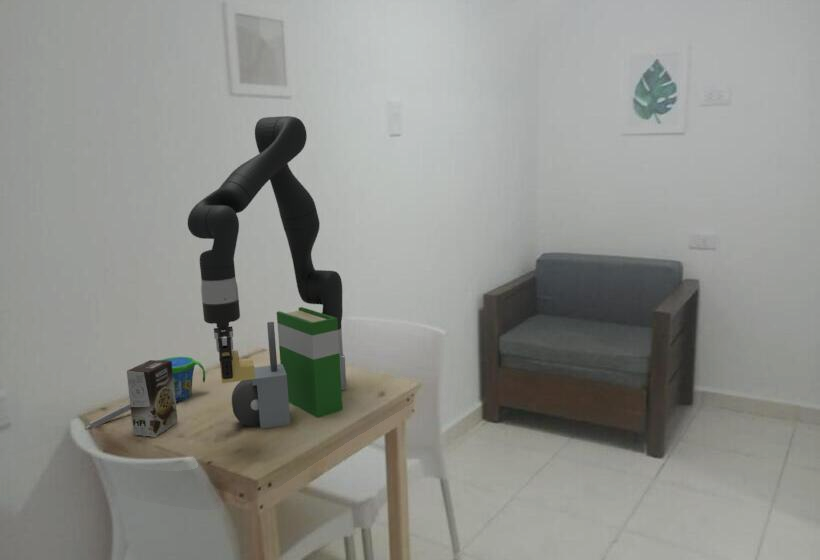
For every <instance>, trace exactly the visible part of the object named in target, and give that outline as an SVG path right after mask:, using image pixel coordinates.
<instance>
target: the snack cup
mask: <svg viewBox="0 0 820 560" xmlns="http://www.w3.org/2000/svg"><path fill="white" fill-rule="evenodd" d="M162 360H166V361H172V371H173V380H174V390H175V400H176V402H178V401H185V400H187V399H188V398H190V397H191V396H192V392H193V376H194V370H195V366H196V365H198V366H199V367H200V368H201V370H202V383H205V382H206V370H205V368H204V366H203V365H202V363H201V362H200V361H198V360H195V359H194V358H193V357H189V356H174V357H167V358H164V359H162Z"/></svg>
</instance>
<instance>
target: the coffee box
mask: <svg viewBox="0 0 820 560" xmlns="http://www.w3.org/2000/svg"><path fill="white" fill-rule="evenodd" d="M126 377H127V378H126V379H127V386H128V387H127V388H128V394H129V395H128V396H129V403H130V406H131V410H130V413H131V415H130V417H131V423H132V434H136V435H135V436H137V435H143V436H142V437H146V436H151V437H150V438H156V437H155V436H157V435H158V436H159V434H160V433H161V434H163V433H164V432H166V431H168V430H169V429H171V428H172V427H174V426H175V425H177V424H178V423H179V421H178V413H177V412H178V410H177V403H176V402H177V401H176V400H175V390H174V380H173V371H172V361H166V360H163V359H160V360H159V359H157V360H155V359H154V360H152V359H150V360H148V361H145V362H143V363H141V364H139V365H136V366H134V367H133V368H129V369H128V370H126ZM173 425H174V426H173ZM170 427H171V428H170ZM168 428H169V429H168ZM165 430H166V431H165ZM162 432H163V433H162ZM161 434H160V435H161ZM158 436H157V437H158Z"/></svg>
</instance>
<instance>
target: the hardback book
mask: <svg viewBox="0 0 820 560" xmlns="http://www.w3.org/2000/svg"><path fill="white" fill-rule="evenodd" d="M276 322H277V335H278V346H279V347H278V349H279V360H280V364H283V366H284V369H285V372H286V374H287V386H288V400H289V404H291V405H293V406H295V407H297V408H298V409H301V410H302V411H304V412H305V413H308V414H310V415H312V416H313V417H315V418H317V419H319V418H322V417H324V416H327V415H332V414H333V413H337V412H338V413H339V412H340V411H343V410H344V409H343V394H342V391H343V390H341V373H340V355H339V338H338V320H337V318H335V317H332V316H329V315H326V314H322V312H318V311H316V310H312V309H309V308H307V307H303V306H299V307H298V310H294V311H291V312H283V311H280V310H278V311H276Z"/></svg>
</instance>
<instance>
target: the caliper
mask: <svg viewBox="0 0 820 560" xmlns="http://www.w3.org/2000/svg"><path fill="white" fill-rule="evenodd" d="M128 411H131V406H130V402H128V403H126V404H124V405H122V406H120V407H118V408H116V409H114V410H112V411H110V412H108V413H106V414H104V415H102V416H100V417H98V418H96V419H94V420H92V421H90V422H88V425H86V426H85V427H84V430H85V431H86V430H89V429H91V428H96V427H100V426H101V425H104V424H105V423H107V422H109V421H111V420H113V419H115V418H116V417H119V416H120V415H123V414H125V413H127V412H128Z"/></svg>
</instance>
